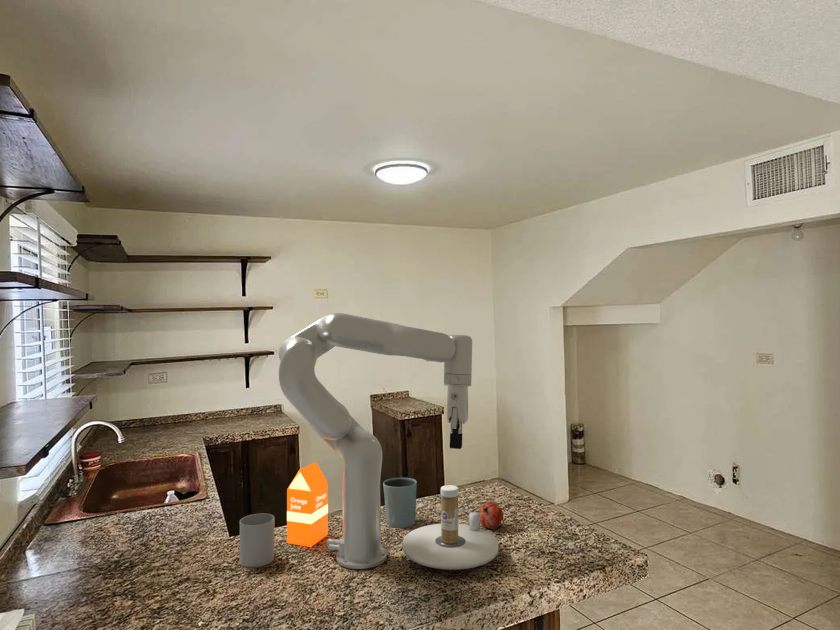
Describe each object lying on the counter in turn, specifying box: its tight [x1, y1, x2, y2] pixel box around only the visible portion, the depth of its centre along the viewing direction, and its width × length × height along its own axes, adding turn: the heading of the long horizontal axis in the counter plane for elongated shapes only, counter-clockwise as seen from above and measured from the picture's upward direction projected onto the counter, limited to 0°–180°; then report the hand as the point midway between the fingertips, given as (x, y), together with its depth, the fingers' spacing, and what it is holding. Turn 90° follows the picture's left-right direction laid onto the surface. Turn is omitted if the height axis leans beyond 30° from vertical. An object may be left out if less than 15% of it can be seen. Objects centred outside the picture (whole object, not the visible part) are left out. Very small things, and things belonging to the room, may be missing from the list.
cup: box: [239, 513, 276, 568], centre depth 128 cm, size 8×8×10 cm
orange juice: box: [286, 461, 329, 548], centre depth 141 cm, size 8×9×20 cm
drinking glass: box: [382, 477, 418, 529], centre depth 153 cm, size 10×10×12 cm
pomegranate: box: [478, 501, 505, 530], centre depth 148 cm, size 7×7×10 cm
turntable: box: [402, 511, 499, 570], centre depth 129 cm, size 24×24×8 cm
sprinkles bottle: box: [440, 484, 460, 544], centre depth 129 cm, size 5×5×14 cm
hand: (455, 447), depth 139 cm, fingers closed
